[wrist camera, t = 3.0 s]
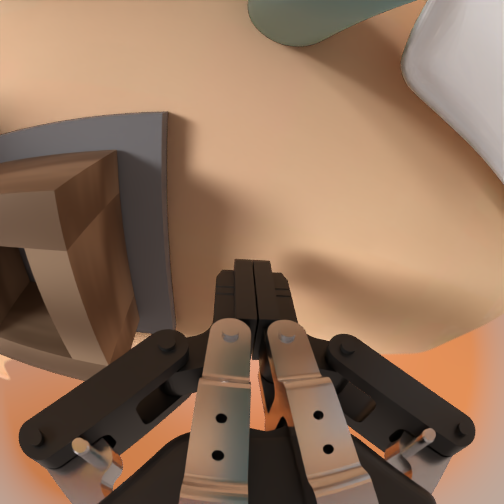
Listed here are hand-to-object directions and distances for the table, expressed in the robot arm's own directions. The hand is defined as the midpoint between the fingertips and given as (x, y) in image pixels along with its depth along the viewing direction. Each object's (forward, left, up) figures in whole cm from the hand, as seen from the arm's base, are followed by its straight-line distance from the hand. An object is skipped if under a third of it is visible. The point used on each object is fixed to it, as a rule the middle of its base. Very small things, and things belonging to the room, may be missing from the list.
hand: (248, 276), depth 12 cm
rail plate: (0, -14, -3) cm, 14 cm away
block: (0, -11, -2) cm, 11 cm away
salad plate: (-16, +18, -3) cm, 24 cm away
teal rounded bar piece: (-12, +1, -3) cm, 12 cm away
